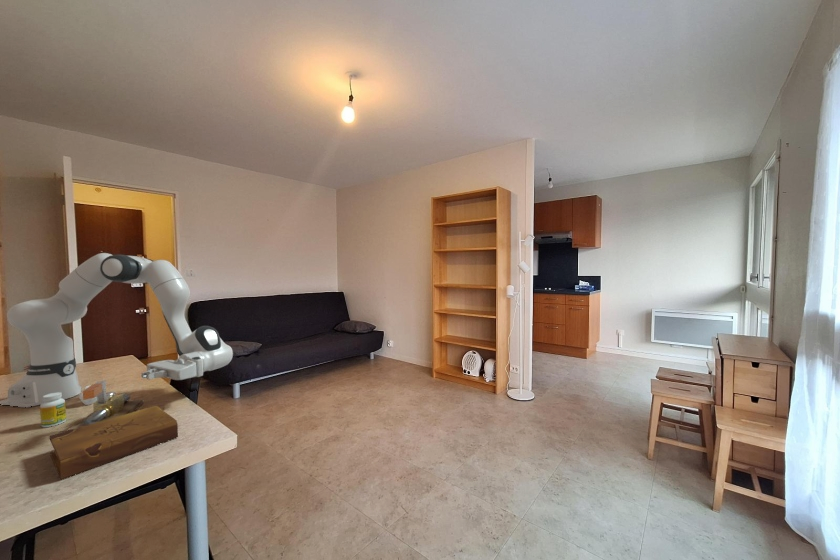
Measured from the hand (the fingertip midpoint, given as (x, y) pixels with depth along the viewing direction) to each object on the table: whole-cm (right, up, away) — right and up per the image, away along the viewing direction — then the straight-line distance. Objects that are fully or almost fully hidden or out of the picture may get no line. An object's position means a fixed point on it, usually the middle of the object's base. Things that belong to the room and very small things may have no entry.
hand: (144, 376), depth 109 cm
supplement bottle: (-25, -14, -5) cm, 29 cm away
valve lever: (-7, -7, -8) cm, 13 cm away
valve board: (-11, -13, -1) cm, 17 cm away
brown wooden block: (+8, -15, -19) cm, 25 cm away
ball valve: (-11, -13, -1) cm, 17 cm away
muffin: (-29, -13, +10) cm, 34 cm away
